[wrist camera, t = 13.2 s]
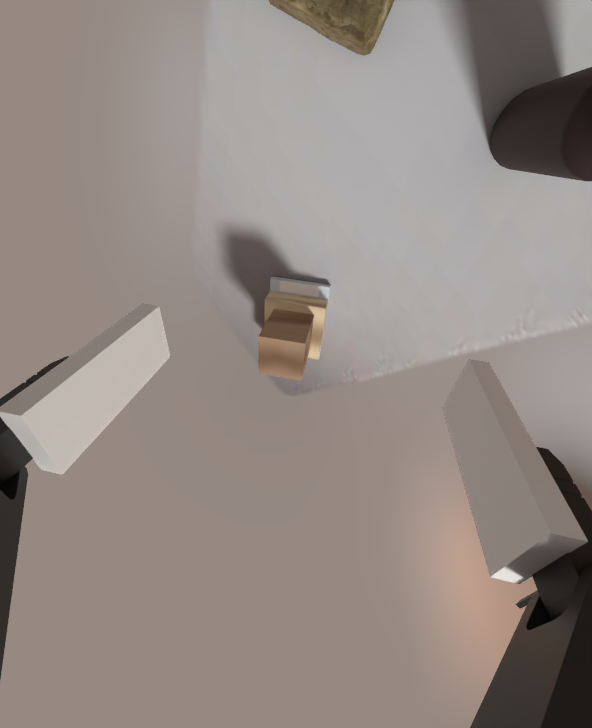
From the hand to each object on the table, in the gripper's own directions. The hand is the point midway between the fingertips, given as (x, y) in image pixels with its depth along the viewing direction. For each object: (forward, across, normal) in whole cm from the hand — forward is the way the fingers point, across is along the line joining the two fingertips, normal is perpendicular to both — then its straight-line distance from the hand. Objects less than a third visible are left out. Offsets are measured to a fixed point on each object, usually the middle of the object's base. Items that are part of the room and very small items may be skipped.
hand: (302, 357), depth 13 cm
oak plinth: (+31, -5, -16) cm, 35 cm away
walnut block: (+28, -5, -16) cm, 33 cm away
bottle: (+33, +17, +10) cm, 38 cm away
